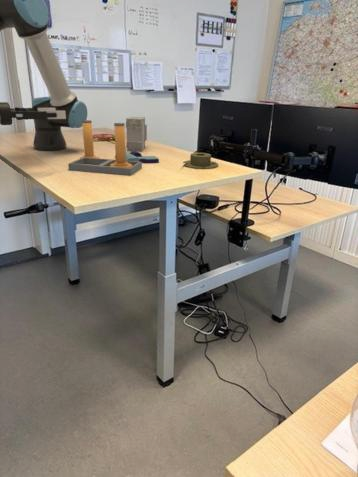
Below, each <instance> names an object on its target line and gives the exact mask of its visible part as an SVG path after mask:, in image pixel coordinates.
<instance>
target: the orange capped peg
mask: <svg viewBox="0 0 358 477" xmlns="http://www.w3.org/2000/svg"><path fill="white" fill-rule="evenodd" d="M113 126H114V128H113V129H114V130H113V131H114V135H115V140H114V143H115V144H114V147H115V148H114V149H115V151H114V152H115V156H116V158H115V160H116V162H114V163H112V164H110V167H121V168H130V167H132V164H130V163H128V162H126V152H127V149H126V129H125V128H126V122H115V123H113Z"/></svg>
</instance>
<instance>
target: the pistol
mask: <svg viewBox="0 0 358 477" xmlns="http://www.w3.org/2000/svg"><path fill="white" fill-rule="evenodd" d="M114 158H115V159H116V155H114ZM126 161H137V162H142V164H159V163H160V158H158V157H157V156H154V155H142V153H141V152H137V151H126Z"/></svg>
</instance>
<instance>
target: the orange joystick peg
mask: <svg viewBox="0 0 358 477" xmlns="http://www.w3.org/2000/svg"><path fill="white" fill-rule="evenodd" d="M81 128H82V137H83V148H84V155H82V156H80V157H79V159H81V158H83V157H87V158H100V156H96V155H95V151H94V141H93V140H94V138H93V136H92V135H93V126H92V120H90V119H86V120H82V127H81Z"/></svg>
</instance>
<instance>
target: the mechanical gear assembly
mask: <svg viewBox="0 0 358 477" xmlns="http://www.w3.org/2000/svg"><path fill="white" fill-rule="evenodd" d="M92 136H93V143H94V142H108V143H112V144H114V145H115V134H114V133H95V134H92Z"/></svg>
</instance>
